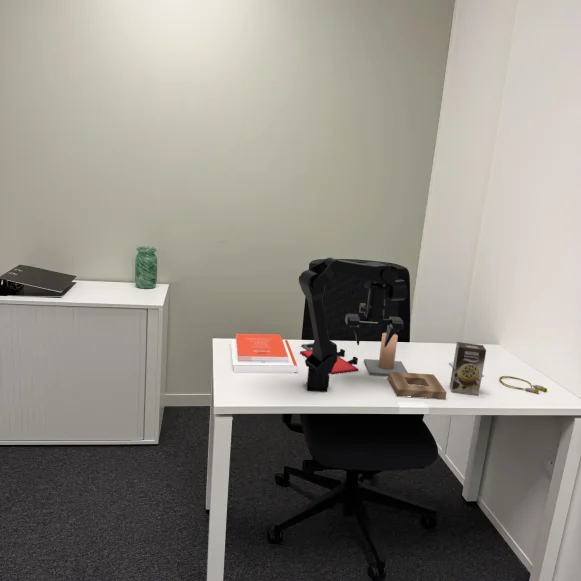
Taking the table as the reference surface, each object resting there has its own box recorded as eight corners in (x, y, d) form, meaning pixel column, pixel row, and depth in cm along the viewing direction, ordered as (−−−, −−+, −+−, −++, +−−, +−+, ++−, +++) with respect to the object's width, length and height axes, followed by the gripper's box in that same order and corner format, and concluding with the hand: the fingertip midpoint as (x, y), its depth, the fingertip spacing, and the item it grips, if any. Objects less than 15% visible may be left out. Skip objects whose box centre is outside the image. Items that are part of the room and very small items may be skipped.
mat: (369, 375, 217) (370, 372, 217) (363, 361, 231) (364, 358, 231) (409, 377, 218) (409, 374, 218) (400, 363, 231) (401, 361, 231)
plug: (385, 369, 220) (389, 337, 218) (375, 365, 225) (379, 333, 222) (396, 368, 223) (401, 336, 221) (386, 363, 228) (390, 332, 225)
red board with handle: (322, 344, 247) (290, 348, 240) (323, 337, 247) (290, 341, 239) (366, 371, 222) (331, 376, 215) (367, 364, 222) (332, 369, 214)
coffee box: (451, 392, 207) (458, 346, 204) (449, 385, 214) (456, 341, 210) (479, 395, 206) (486, 350, 203) (476, 388, 213) (483, 344, 209)
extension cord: (521, 396, 210) (522, 391, 210) (491, 379, 224) (492, 374, 224) (549, 394, 214) (550, 389, 214) (518, 377, 229) (519, 372, 228)
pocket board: (396, 396, 200) (397, 389, 199) (387, 378, 215) (388, 371, 215) (445, 399, 201) (446, 392, 200) (432, 381, 216) (433, 374, 216)
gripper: (399, 297, 212) (394, 340, 216) (345, 293, 211) (341, 336, 215) (406, 305, 201) (400, 350, 205) (349, 301, 200) (345, 347, 204)
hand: (371, 345), depth 207 cm, fingers open, 9 cm apart
